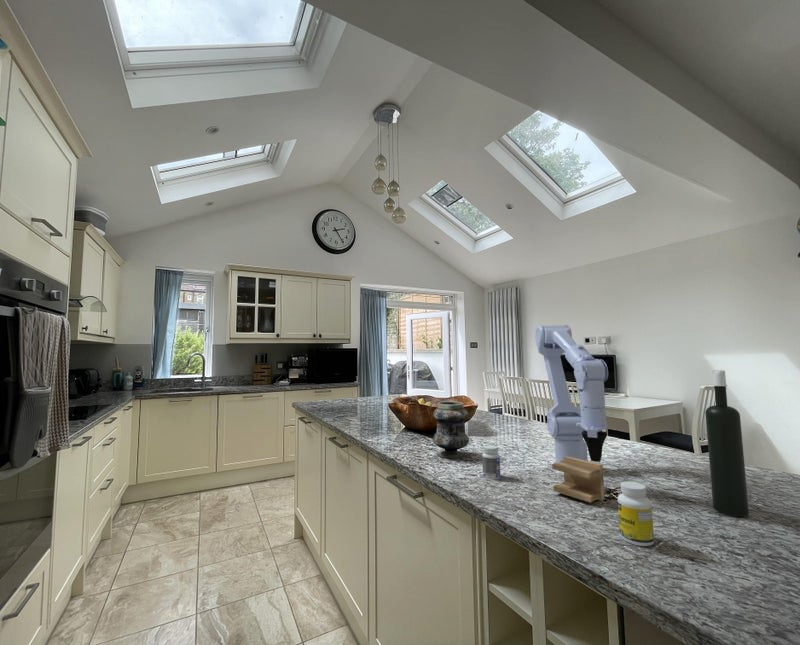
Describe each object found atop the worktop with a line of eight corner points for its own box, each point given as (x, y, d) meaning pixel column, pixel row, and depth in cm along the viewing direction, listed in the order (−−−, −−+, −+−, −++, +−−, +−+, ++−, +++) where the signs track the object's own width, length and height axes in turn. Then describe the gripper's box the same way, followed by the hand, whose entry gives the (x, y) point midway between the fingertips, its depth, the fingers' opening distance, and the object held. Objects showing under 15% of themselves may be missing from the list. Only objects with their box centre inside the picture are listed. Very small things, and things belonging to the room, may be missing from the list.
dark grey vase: (472, 461, 118) (470, 404, 120) (434, 462, 118) (433, 405, 120) (466, 451, 130) (464, 399, 132) (432, 452, 131) (431, 400, 132)
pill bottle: (501, 480, 100) (499, 449, 101) (483, 480, 101) (482, 448, 102) (499, 475, 105) (498, 444, 106) (482, 474, 106) (481, 444, 107)
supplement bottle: (613, 533, 71) (609, 480, 72) (639, 531, 71) (636, 479, 72) (633, 548, 65) (629, 490, 66) (662, 546, 66) (658, 489, 67)
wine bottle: (752, 518, 76) (738, 371, 78) (715, 512, 79) (704, 370, 81) (745, 508, 81) (732, 369, 83) (711, 503, 84) (699, 369, 86)
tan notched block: (553, 494, 90) (568, 488, 94) (590, 506, 83) (604, 499, 87) (552, 460, 91) (566, 456, 95) (588, 469, 84) (602, 464, 88)
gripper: (578, 402, 104) (581, 452, 103) (572, 409, 91) (575, 466, 90) (606, 404, 100) (610, 455, 99) (605, 411, 88) (608, 470, 87)
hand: (595, 461), depth 94 cm, fingers closed
